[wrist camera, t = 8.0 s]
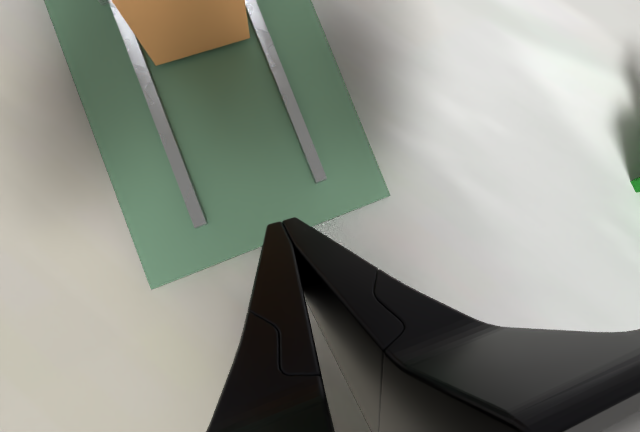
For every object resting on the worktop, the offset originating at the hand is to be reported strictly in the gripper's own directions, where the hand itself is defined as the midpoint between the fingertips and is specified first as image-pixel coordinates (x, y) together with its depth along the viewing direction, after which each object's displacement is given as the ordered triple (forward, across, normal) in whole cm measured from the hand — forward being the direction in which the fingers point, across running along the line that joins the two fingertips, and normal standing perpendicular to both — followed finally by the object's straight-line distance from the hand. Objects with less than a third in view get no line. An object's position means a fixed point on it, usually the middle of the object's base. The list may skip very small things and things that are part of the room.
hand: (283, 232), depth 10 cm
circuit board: (+14, +1, -3) cm, 14 cm away
